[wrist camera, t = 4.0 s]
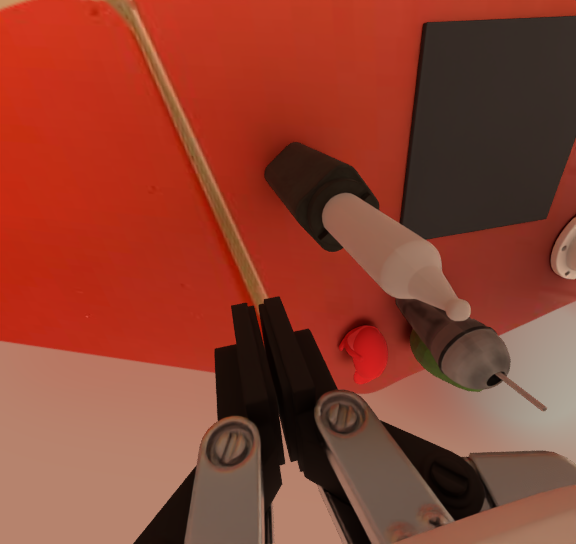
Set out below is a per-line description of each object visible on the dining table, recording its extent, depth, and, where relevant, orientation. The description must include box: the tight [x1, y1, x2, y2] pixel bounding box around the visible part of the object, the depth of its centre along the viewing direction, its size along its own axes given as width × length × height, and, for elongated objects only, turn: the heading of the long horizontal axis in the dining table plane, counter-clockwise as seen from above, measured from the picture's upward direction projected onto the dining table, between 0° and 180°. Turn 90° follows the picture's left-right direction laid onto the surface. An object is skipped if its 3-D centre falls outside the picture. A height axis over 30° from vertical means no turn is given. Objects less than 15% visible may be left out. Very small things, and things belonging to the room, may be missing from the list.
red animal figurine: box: [339, 325, 388, 384], centre depth 44 cm, size 8×6×6 cm
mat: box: [400, 16, 576, 240], centre depth 36 cm, size 22×22×1 cm
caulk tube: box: [264, 142, 471, 321], centre depth 22 cm, size 5×5×25 cm
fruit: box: [410, 329, 482, 392], centre depth 43 cm, size 8×8×12 cm
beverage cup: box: [396, 298, 547, 412], centre depth 36 cm, size 7×7×20 cm
